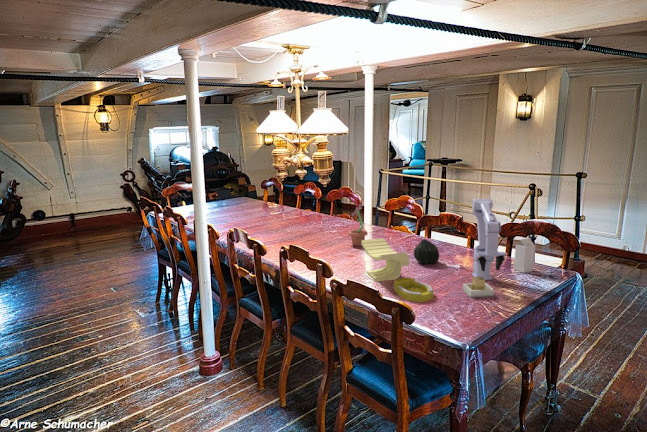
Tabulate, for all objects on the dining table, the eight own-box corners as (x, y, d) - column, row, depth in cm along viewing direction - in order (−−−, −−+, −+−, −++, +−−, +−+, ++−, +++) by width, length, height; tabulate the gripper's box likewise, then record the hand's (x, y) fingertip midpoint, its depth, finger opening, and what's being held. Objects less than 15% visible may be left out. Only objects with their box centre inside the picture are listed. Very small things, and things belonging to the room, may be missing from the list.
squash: (440, 259, 244) (438, 236, 251) (414, 259, 247) (413, 236, 254) (438, 268, 256) (437, 246, 263) (414, 268, 259) (413, 246, 266)
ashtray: (412, 284, 221) (412, 275, 220) (440, 298, 204) (440, 288, 202) (387, 290, 214) (387, 281, 213) (414, 305, 196) (414, 295, 195)
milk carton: (513, 269, 240) (516, 237, 236) (523, 267, 242) (525, 236, 238) (523, 273, 233) (526, 240, 229) (533, 271, 236) (535, 239, 232)
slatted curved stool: (408, 283, 222) (409, 252, 218) (381, 287, 218) (381, 255, 214) (386, 266, 250) (386, 237, 247) (361, 269, 246) (361, 240, 243)
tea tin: (471, 289, 209) (472, 276, 208) (480, 289, 210) (480, 276, 208) (475, 293, 205) (476, 279, 203) (484, 292, 205) (485, 279, 204)
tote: (462, 290, 212) (463, 283, 211) (484, 289, 212) (485, 282, 212) (470, 297, 202) (471, 291, 201) (493, 296, 203) (494, 289, 202)
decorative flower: (353, 240, 308) (352, 201, 301) (370, 242, 302) (370, 202, 295) (345, 246, 295) (344, 204, 288) (363, 248, 289) (363, 205, 282)
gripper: (481, 247, 205) (480, 273, 208) (509, 246, 206) (507, 272, 209) (475, 243, 212) (473, 268, 215) (502, 242, 213) (500, 267, 216)
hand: (490, 270), depth 212 cm, fingers open, 7 cm apart
